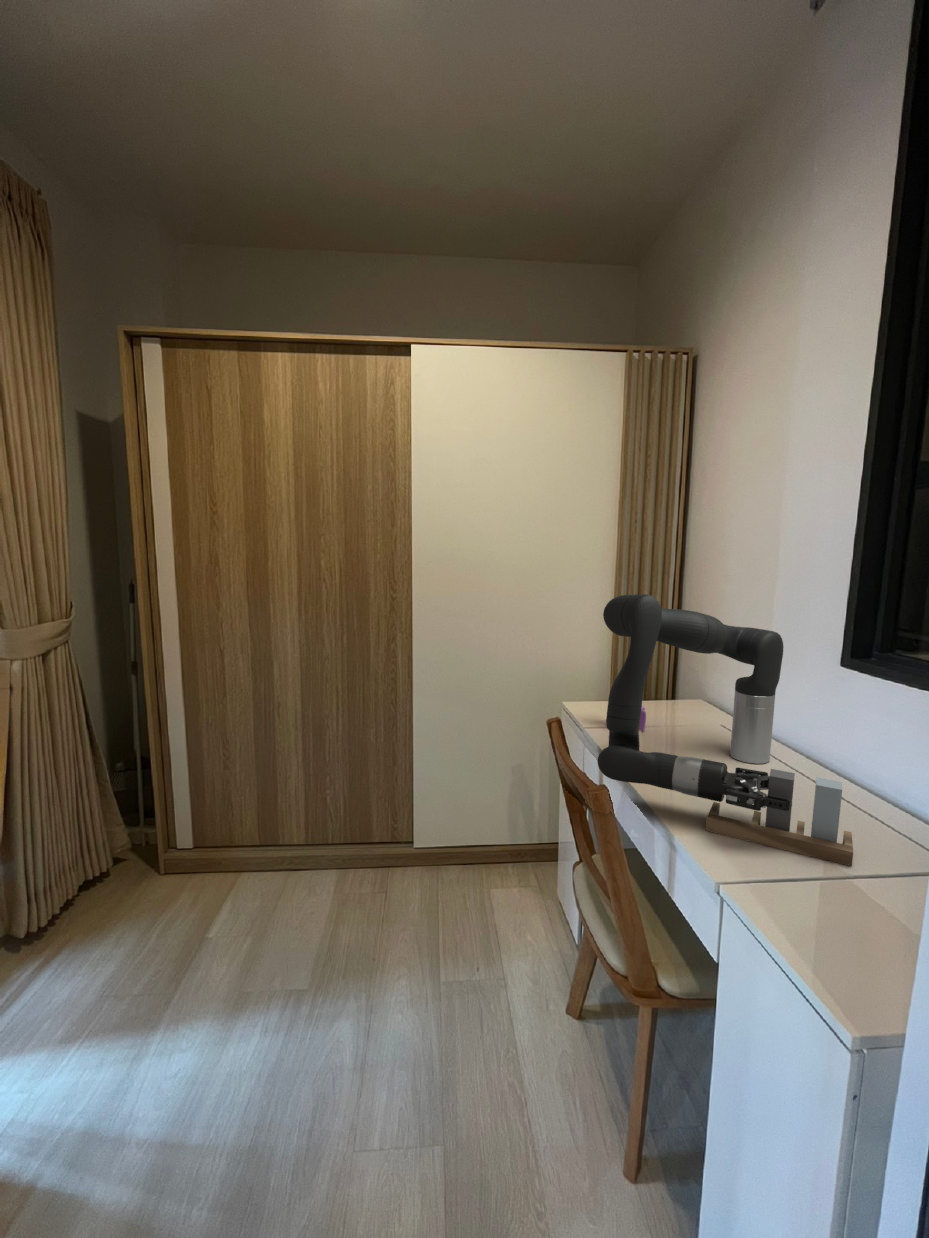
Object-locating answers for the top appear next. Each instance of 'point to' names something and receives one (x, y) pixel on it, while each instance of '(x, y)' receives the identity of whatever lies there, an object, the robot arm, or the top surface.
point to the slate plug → (826, 809)
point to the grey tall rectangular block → (782, 787)
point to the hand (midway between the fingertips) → (791, 796)
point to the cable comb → (781, 837)
